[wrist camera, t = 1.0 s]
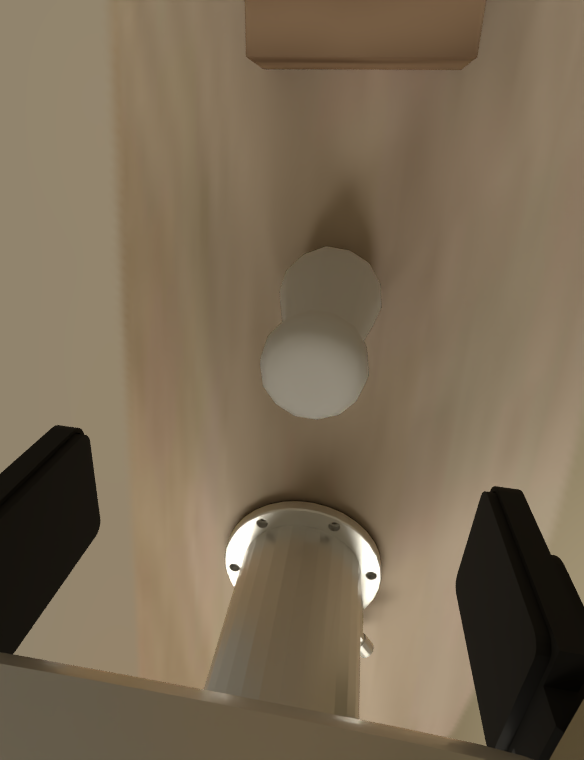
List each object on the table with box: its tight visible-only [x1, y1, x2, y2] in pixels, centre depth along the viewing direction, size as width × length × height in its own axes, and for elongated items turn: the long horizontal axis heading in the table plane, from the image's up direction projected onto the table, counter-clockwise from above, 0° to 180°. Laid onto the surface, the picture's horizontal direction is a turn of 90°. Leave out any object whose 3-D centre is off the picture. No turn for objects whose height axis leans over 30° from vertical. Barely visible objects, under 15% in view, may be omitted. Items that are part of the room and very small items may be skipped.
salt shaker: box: [260, 246, 382, 420], centre depth 24 cm, size 6×6×13 cm
